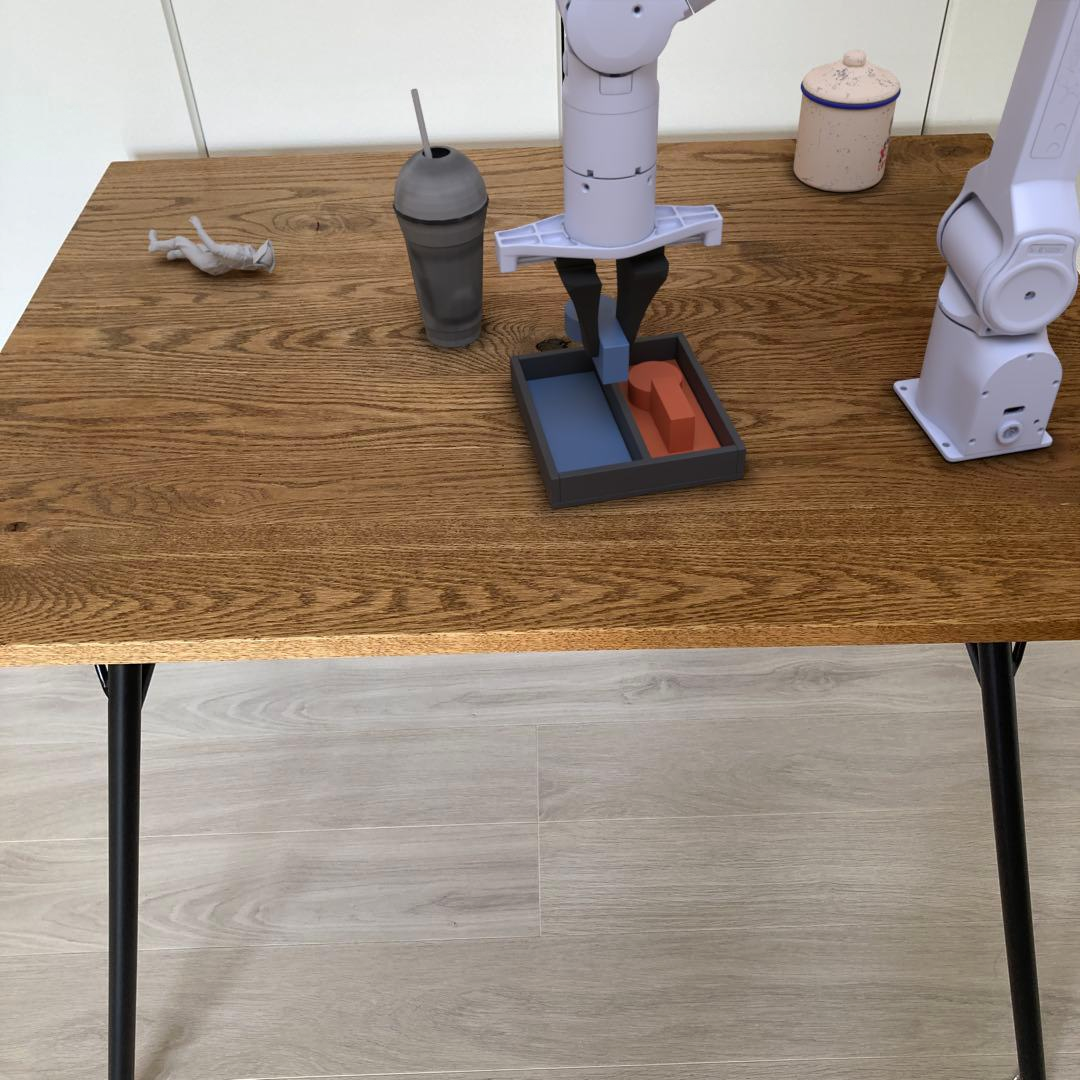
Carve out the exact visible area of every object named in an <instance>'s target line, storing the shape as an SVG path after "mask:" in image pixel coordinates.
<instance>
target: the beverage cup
mask: <svg viewBox="0 0 1080 1080" xmlns="http://www.w3.org/2000/svg"><path fill="white" fill-rule="evenodd" d="M410 94H411V99H412V103H413V107H414V111H415V116H416V121H417V126H418V131H419V136H420V140H421V144H422V149H420V150H418V151H416V152H414V153H413V154H412V155H411V156H410V157H408V159H407V160H405V162H404V163H403V165H402V166H401V168H400V170H399V172H398V175H397V178H396V182H395V185H394V190H393V203H392V209H393V211H394V214H395V215H396V219H397V221H398V224H399V228H400V230H401V233H402V236H403V237H404V243H405V248H406V251H407V256H408V260H409V265H410V269H411V274H412V275H411V276H412V280H413V285H414V288H415V294H416V298H417V304H418V307H419V312H420V317H421V320H422V323H423V327H424V329H425V337H426V338H427V340H428V341H429V342H430V343H431V344H433V345H436V346H438V347H441V348H460V347H465V346H467V345H470V344H472V343H473V342H475V341H476V340H477V339H478V338H479V337H480V336H481V333H482V327H481V326H482V317H483V295H484V293H483V292H484V291H483V290H484V289H483V288H484V240H485V239H484V235H485V228H486V221H487V213H488V207H489V203H490V197H489V193H488V192H487V187H486V184H485V180H484V178H483V176H482V174H481V172H480V170H479V168H478V166H477V165H476V164H475V162H474V161H473V160H472V159H471V158H470V157H468V155H466V154H465V153H464V152H462V151H460V150H459V149H456V148H454V147H451V146H447V145H432V146H430V140H429V136H428V131H427V127H426V123H425V118H424V113H423V109H422V104H421V100H420V96H419V95H420V94H419V91H418V88H411V89H410Z"/></svg>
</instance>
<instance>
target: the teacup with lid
mask: <svg viewBox="0 0 1080 1080" xmlns="http://www.w3.org/2000/svg"><path fill="white" fill-rule="evenodd" d="M800 91H801V93H802V94H801V102H800V110H799V117H798V118H799V120H798V127H797V135H796V144H795V152H794V161H793V173H794V174H795V176H796V177H797V178H798V179H799V181H801V182H802V183H804V184H805V185H807V186H810V187H812V188H814V189H818V190H821V191H827V192H833V193H852V192H859V191H863V190H867V189H869V188H871V187H874V186H875V185H876V184H878V183H879V182H880V181H881V180H882V178H883V176H884V174H885V169H886V162H887V156H888V150H889V145H890V138H891V134H892V127H893V121H894V117H895V111H896V105H897V100H898V98H899V97H900V95H901V92H902V88H901V83H900V81H899V79H898V77H897V76H896V75H895V74H894V73H893V72H892V71H890V70H888V69H886V68H884V67H881V66H879V65H878V66H877V65H876V64H874V63H872V62H870V61H868V60H867V55H866V53H865V52H864V51H863V50H859V49H850V50H847V51H846V52H845V53H844V54H843V58H842V59H838V60H836V61H834V62H831V63H825V64H822V65H818V66H816V67H814V68H812V69H810V70H809V71H807V73H806V74H805V75H804V77H803V79H802V81H801V83H800Z"/></svg>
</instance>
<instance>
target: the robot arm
mask: <svg viewBox="0 0 1080 1080" xmlns="http://www.w3.org/2000/svg"><path fill="white" fill-rule="evenodd" d="M716 1H717V0H555V4H556V7H557V10H558V12H559V15H560V17H561V18H562V23H563V24H562V25H563V28H564V33H565V37H564V41H565V42H564V45H565V46H564V51H563V54H562V69H563V73H564V78H563V81H562V83H561V117H562V119H561V120H562V121H561V122H562V123H561V124H562V125H561V127H562V128H561V129H562V130H561V131H562V172H563V173H562V174H563V178H562V179H563V212H562V213H559V214H556V215H553V216H550V217H546V218H543V219H540V220H536V221H534V222H531V223H527V224H524V225H521V226H517V227H514V228H509V229H503V230H498V231H494V234H493V235H494V249H495V250H494V252H495V253H494V254H495V260H496V263H497V267H498V269H499V271H500V273H501V274H508V273H514V272H516V271H517V270H518V267H519V266H528V265H534V264H543V263H552V262H553V263H554V266H555V269H556V271H557V274H558V277H559V279H560V282H561V284H562V285H563V287H564V289H565V291H566V292H567V294H568V296H569V298H570V300H572V302H573V304H574V307H575V310H576V314H577V317H578V321H579V325H580V330H581V336H582V346H584V349H585V351H586V353H587V356H588V357H589V358H594V357H598V356H599V329H598V314H599V303H600V295H601V294H602V290H603V289H602V288H603V283H602V281H601V279H600V276H599V274H598V272H597V263H595V261H594V260H611V261H612V260H615V269H616V301H617V303H616V318H617V320H618V322H619V324H620V326H621V328H622V330H623V332H624V335H625V337H626V339H627V341H628V343H629V353H630V352H632V351H633V347H634V343H635V339H636V338H637V336H638V333H639V330H640V327H641V324H642V321H643V319H644V317H645V314H646V312H647V310H648V309H649V306H650V305H651V303H652V301H653V300H654V297H655V296H656V295H657V293H658V292H659V290H660V289H661V288H662V286H663V285H664V284H665V283H666V281H667V279H668V276H669V272H670V271H669V270H670V263H669V260H668V259H667V257H666V254H665V253H666V251H665V250H666V249H665V248H667V247H675V246H682V245H683V246H684V245H691V244H692V245H693V244H699V243H702V244H703V246H705V247H708V248H709V247H710V248H711V247H717V246H721V245H722V238H723V225H724V217H723V216H722V214H721V212H720V211H719V210H718V208H717V207H716V206H715V204H706V205H673V204H656V192H657V191H656V190H657V164H658V163H657V162H658V160H657V158H658V140H659V139H658V136H659V135H658V134H659V112H660V111H659V110H660V82H659V80H658V60H659V58H658V57H659V56H661V54H662V53H663V51H664V50H665V48H666V46H667V44H668V43H669V40H670V38H671V35H672V31H673V29H674V28H675V26H676V25H677V24H678V23H680V22H682V21H685V20H687V19H689V18H690V17H692V16H693V15H694V14H697V13H699V12H700V11H701V10H703V9H705V8H706V7H708V6H710V5H711V4H712V3H714V2H716ZM1079 173H1080V0H1036V3H1035V6H1034V9H1033V13H1032V16H1031V19H1030V23H1029V25H1028V29H1027V33H1026V35H1025V39H1024V42H1023V45H1022V49H1021V52H1020V56H1019V58H1018V61H1017V65H1016V68H1015V72H1014V74H1013V78H1012V82H1011V85H1010V88H1009V92H1008V95H1007V97H1006V101H1005V104H1004V109H1003V110H1002V114H1001V119H1000V121H999V125H998V129H997V131H996V135H995V139H994V141H993V144H992V147H991V150H990V154H989V157H988V158H987V159H985V160H983V161H982V162H980V163H978V164H976V165H974V166H973V167H972V168H970V169H969V170H968V171H967V173H966V178H965V180H964V184H963V187H962V188H961V191H960V192H959V195H958V196H957V197H956V199H955V200H954V201H953V202H952V204H951V205H950V206H949V207H948V208H947V210H946V211H945V212H944V214H943V215H942V217H941V219H940V221H939V224H938V226H937V231H936V237H935V238H936V239H935V240H936V246H937V250H938V252H939V254H940V256H941V258H942V259H943V260H944V262H946V263H947V264H946V269H945V273H944V278H943V282H942V283H941V286H940V287H939V290H938V296H937V300H936V304H935V309H934V313H933V318H932V322H931V326H930V331H929V335H928V339H927V345H926V348H925V353H924V358H923V362H922V367H921V371H920V375H919V377H918V378H917V377H916V378H909V379H905V380H904V379H903V380H897V381H895V382H894V383H893V387H892V388H893V390H894V392H895V393H896V394H897V396H898V397H899V398H900V400H901V401H902V402H903V404H904V405H905V407H906V408H907V410H908V411H909V413H911V415H912V416H913V417H914V420H916V422H917V423H918V424H919V425H920V427H921V428H922V429H923V431H924V432H925V434H926V435H927V436H928V438H929V440H930V441H931V442H932V443H933V444H934V446H935V447H936V449H937V450H938V451H939V453H940V454H941V455H942V457H943V458H944V459H945V460H946V461H948V462H951V463H955V462H961V461H967V460H974V459H981V458H986V457H991V456H992V457H993V456H998V455H999V456H1000V455H1003V454H1010V453H1015V452H1017V453H1018V452H1024V451H1029V450H1034V449H1035V450H1036V449H1042V448H1047V447H1050V446H1051V445H1052V444H1053V437H1052V436H1051V435H1050V434H1049V433H1048V432H1047V431H1046V428H1047V426H1048V422H1049V420H1050V417H1051V413H1052V412H1053V411H1052V410H1053V408H1054V405H1055V402H1056V398H1057V395H1058V392H1059V390H1060V389H1059V388H1060V385H1061V382H1062V378H1063V367H1062V363H1061V362H1060V360H1059V357H1058V356H1057V354H1056V353H1055V351H1054V350H1053V348H1052V346H1051V343H1050V341H1049V336H1048V331H1047V326H1048V325H1050V324H1051V323H1053V322H1054V321H1055V320H1057V319H1058V318H1059V317H1060V316H1061V315H1062V314H1063V313H1064V312H1065V311H1066V309H1067V308H1068V307H1069V306H1070V304H1071V302H1072V301H1073V299H1074V298H1075V295H1076V292H1077V289H1078V285H1079V273H1078V268H1077V252H1078V249H1079V245H1080V205H1079V199H1078V193H1077V186H1076V181H1077V178H1078V176H1079Z"/></svg>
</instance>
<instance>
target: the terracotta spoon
mask: <svg viewBox="0 0 1080 1080" xmlns="http://www.w3.org/2000/svg"><path fill="white" fill-rule="evenodd" d="M628 399H629V401H630V403H631V404H632V405H634V406H635V407H637V408H639V409H641V410H645V411H650V414H651V416H652V418H653V420H654V422H655V424H656V426H657V429H658V431H659V433H660V435H661V437H662V439H663V441H664V444H665V446H666V448H667V450H668V452H669V453H675V452H681V451H687V450H693V444H694V430H695V414H694V412H693V410H692V408H691V406H690V404H689V402H688V400H687V398H686V397H685V395H684V393H683V391H682V374H681V372H680V370H679V369H678V368H677V367H675V366H673V365H671V364H669V363H666V362H660V361H649V362H643V363H640V364H638V365H636V366H634V367H633V368H632V369H631V370H630V372H629V376H628Z"/></svg>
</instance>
